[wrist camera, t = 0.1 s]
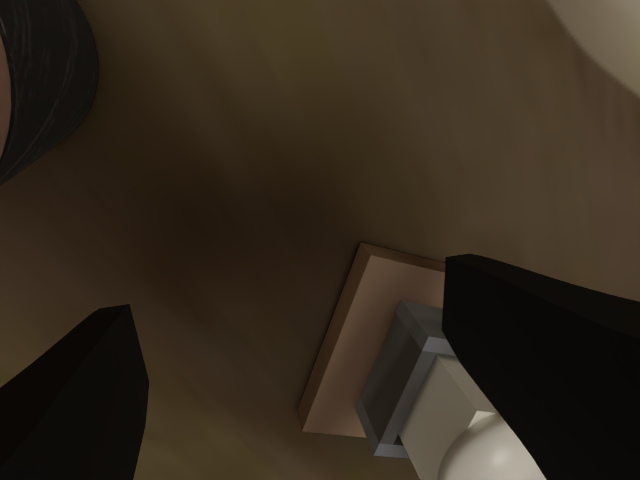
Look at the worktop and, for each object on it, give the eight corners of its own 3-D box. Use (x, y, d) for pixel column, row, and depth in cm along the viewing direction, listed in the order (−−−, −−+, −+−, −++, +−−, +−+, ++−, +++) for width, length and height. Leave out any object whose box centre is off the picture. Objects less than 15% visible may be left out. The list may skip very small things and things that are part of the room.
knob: (526, 360, 21) (597, 431, 17) (478, 446, 22) (534, 529, 19) (430, 343, 19) (484, 417, 15) (386, 437, 21) (425, 525, 17)
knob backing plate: (779, 344, 31) (864, 388, 27) (697, 454, 34) (762, 509, 30) (360, 242, 21) (395, 287, 17) (297, 410, 24) (313, 482, 20)
